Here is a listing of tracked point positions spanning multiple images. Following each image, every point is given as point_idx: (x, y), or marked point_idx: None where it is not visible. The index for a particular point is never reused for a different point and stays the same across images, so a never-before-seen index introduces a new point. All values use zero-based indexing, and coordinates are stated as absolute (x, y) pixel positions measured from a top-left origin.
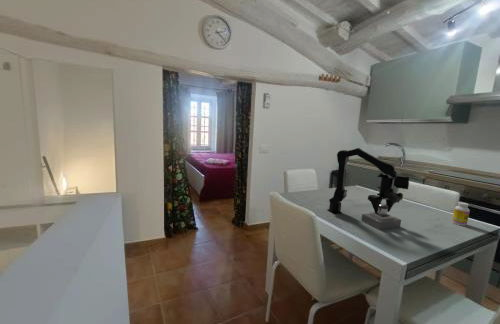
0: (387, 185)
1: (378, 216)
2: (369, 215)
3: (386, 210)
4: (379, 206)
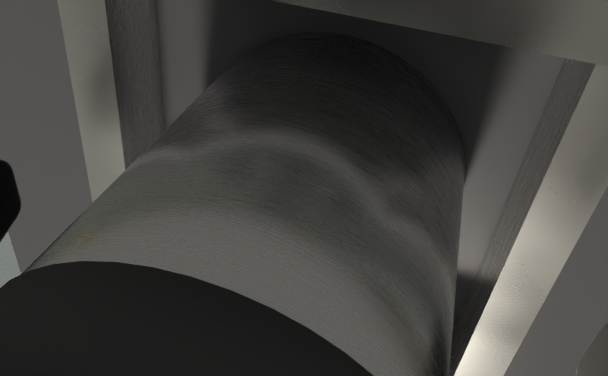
0: None
1: (594, 189)
2: (549, 351)
3: (229, 211)
4: None
